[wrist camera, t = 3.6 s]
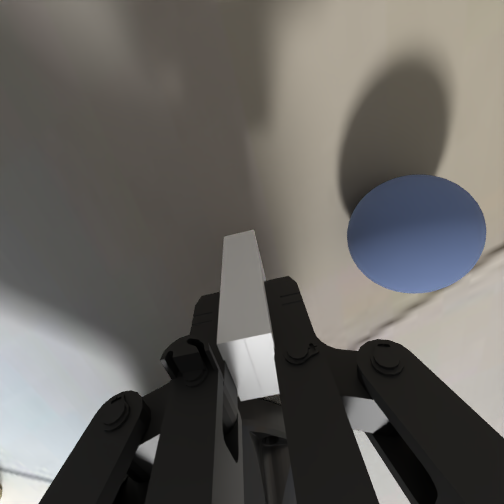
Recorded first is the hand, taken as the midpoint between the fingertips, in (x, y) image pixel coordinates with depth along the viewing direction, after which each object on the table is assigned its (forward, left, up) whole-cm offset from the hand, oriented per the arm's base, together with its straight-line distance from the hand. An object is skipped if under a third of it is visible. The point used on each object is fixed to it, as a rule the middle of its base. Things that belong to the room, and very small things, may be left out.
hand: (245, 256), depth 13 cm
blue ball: (+8, 0, +1) cm, 8 cm away
